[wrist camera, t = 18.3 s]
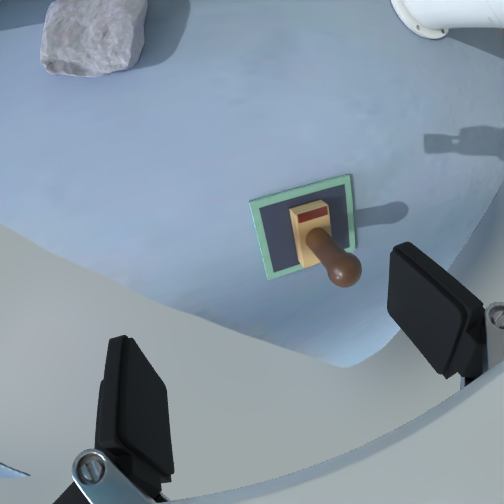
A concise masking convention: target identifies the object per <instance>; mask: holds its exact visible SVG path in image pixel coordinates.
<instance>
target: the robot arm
mask: <svg viewBox="0 0 504 504" xmlns="http://www.w3.org/2000/svg"><path fill="white" fill-rule="evenodd" d="M391 2H392V5H393V7H394V9H395V11H396V13H397V14H398V16H399V17H400V19H401V20H402V21H403V22H404V24H405V25H406V26H407V27H408V28H409V29H410V30H412V31H413V32H414V33H416V34H417V35H419V36H421V37H424V38H428V39H437V38H441V37H443V36H445V35H446V34H447V32H448V31H449V29H450V28H504V0H391ZM387 310H388V313H389V314H390V316H391V317H392V318H393V319H394V321H395V322H396V323H397V324H398V325H399V327H400V328H401V329H402V330H403V331H404V332H405V334H406V335H407V336H408V337H409V338H410V340H411V341H412V342H413V343H414V344H415V346H416V347H417V348H418V349H419V351H420V352H421V353H422V354H423V356H424V357H425V358H426V359H427V361H428V362H429V363H430V364H431V366H432V367H433V368H434V369H435V371H436V372H437V373H438V374H443V376H444V377H445V378H446V379H448V378H449V377H451V376H452V375H454V374H455V373H457V372H458V373H459V374H460V375H461V385H460V391H458V392H457V393H455V394H454V395H452V396H451V397H449V398H448V399H446V400H445V401H443V402H441V403H440V404H438V405H437V406H435V407H434V408H432V409H430V410H429V411H427V412H425V413H424V414H422V415H420V416H418V417H417V418H415V419H413V420H411V421H410V422H408V423H406V424H404V425H402V426H401V427H399V428H397V429H395V430H393V431H391V432H390V433H387V434H385V435H383V436H381V437H379V438H377V439H375V440H373V441H371V442H369V443H367V444H365V445H363V446H360V447H359V448H356V449H354V450H351V451H349V452H347V453H344V454H342V455H340V456H338V457H335V458H332V459H330V460H327V461H325V462H322V463H320V464H317V465H314V466H311V467H309V468H306V469H303V470H300V471H297V472H294V473H291V474H288V475H285V476H282V477H279V478H275V479H272V480H268V481H265V482H261V483H257V484H253V485H250V486H246V487H241V488H237V489H233V490H228V491H224V492H219V493H214V494H209V495H204V496H199V497H193V498H187V499H180V500H174V501H171V500H170V499H169V498H167V497H166V496H165V495H164V494H163V493H162V492H161V491H162V489H161V483H167V482H171V474H173V473H174V462H173V455H172V445H171V436H170V424H169V413H168V401H167V400H168V399H167V389H166V386H165V384H164V383H163V381H162V380H161V378H160V377H159V376H158V374H157V373H156V372H155V370H154V368H153V367H152V366H151V364H150V363H149V361H148V360H147V358H146V357H145V355H144V354H143V352H142V351H141V350H140V348H139V347H138V345H137V344H136V342H135V340H134V339H133V338H128V337H127V336H126V335H122V336H119V337H115V338H111V339H110V340H109V344H108V351H107V357H106V364H105V371H104V379H103V380H102V381H101V384H100V390H99V399H98V409H97V419H96V432H95V449H87V450H84V451H83V452H81V453H80V454H79V455H78V456H77V457H76V458H75V460H74V462H73V465H72V476H73V479H74V482H73V483H72V484H71V485H70V486H69V487H68V488H67V489H66V490H65V491H64V493H62V495H61V496H60V497H59V498H58V499H57V500H56V501H55V502H54V503H53V504H504V303H502V302H495V303H492V304H490V305H489V306H488V307H487V308H486V309H484V308H483V303H482V302H481V301H480V300H479V299H478V298H477V297H476V296H475V295H473V294H472V293H471V292H470V291H469V290H468V289H466V288H465V287H464V286H463V285H462V284H461V283H459V282H458V281H457V280H456V279H455V278H454V277H453V276H451V275H450V274H449V273H448V272H447V271H445V270H444V269H443V268H442V267H441V266H439V265H438V264H437V263H436V262H434V261H433V260H432V259H431V258H429V257H428V256H427V255H426V254H424V253H423V252H422V251H421V250H419V249H418V248H417V247H416V246H414V245H413V244H412V243H410V242H404V243H402V244H399V245H396V246H395V247H394V248H393V251H392V252H391V253H390V268H389V286H388V300H387Z"/></svg>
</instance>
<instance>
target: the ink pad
mask: <svg viewBox="0 0 504 504" xmlns="http://www.w3.org/2000/svg"><path fill="white" fill-rule="evenodd" d="M317 199H321V200H322V201H323V202H325V203H326V204H327V205H328V207H329V216H330V225H331V234H332V238H333V239H334V240H335V241H336V242H337V243H338V244H339V245H340V246H341V247H342V248H343V249H344V250H345V251H346V252H348V253H350V252H353V251H355V232H354V216H353V203H352V191H351V181H350V175H348V174H347V175H343V176H339V177H335V178H331V179H327V180H324V181H320V182H316V183H312V184H309V185H305V186H301V187H298V188H294V189H290V190H287V191H283V192H280V193H276V194H273V195H269V196H266V197H262V198H259V199H256V200H252V201H249V206H250V210H251V214H252V218H253V222H254V226H255V230H256V234H257V238H258V243H259V247H260V251H261V255H262V259H263V263H264V267H265V272H266V276H267V279H268V280H271V279H274V278H277V277H280V276H283V275H286V274H289V273H292V272H295V271H298V270H301V269H304V268H303V266H302V265H301V264H300V262H299V261H298V260H297V254H296V248H295V242H294V236H293V231H292V225H291V219H290V214H289V209H288V208H290V207H293V206H297V205H300V204H304V203H307V202H311V201H314V200H317Z"/></svg>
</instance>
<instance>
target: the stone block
mask: <svg viewBox="0 0 504 504" xmlns="http://www.w3.org/2000/svg"><path fill="white" fill-rule="evenodd" d="M147 3H148V1H147V0H55V1H54V2H52V3H51V4H50V6H49V8H48V10H47V12H46V18H45V25H44V31H43V37H42V41H41V53H40V60H41V64H43V65H44V66H45V70H46V71H47V72H49V73H50V74H53V75H60V74H64V75H70V76H79V77H99V76H102V75H109V74H111V73H113V72H116V71H120V70H128V69H130V68H131V67H133V66H134V65H135V64H136V63H137V62H138V59H139V57H140V53H141V51H142V48H143V46H144V43H145V38H144V22H145V18H146V13H147V8H148V4H147Z"/></svg>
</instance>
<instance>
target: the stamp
mask: <svg viewBox="0 0 504 504" xmlns="http://www.w3.org/2000/svg"><path fill="white" fill-rule="evenodd" d="M288 209H289V214H290V219H291V225H292V231H293V236H294V242H295V248H296V254H297V260H298V261H299V262H300V264H301V265H302V266H303V268H307V267H310V266H313V265H316V264H318V263H322V264H323V266H324V267H325V268H326V269H327V272H328V276H329V278H330V280H331V281H332V282H333V283H334V284H335V285H337V286H339V287H350V286H352V285H354V284H355V283H356V282H357V281H358V280H359V278H360V276H361V273H362V266H361V263H360V261H359V259H358V258H357V257H356V256H355V255H353V254H351V253H348V252H346V251H345V250H344V249H343V248H342V247H341V246H340V245H339V244H338V243H337V242H336V241H335V240H334V239H333V238H332V234H331V225H330V216H329V207H328V205H327V204H326V203H325V202H323V201H322V200H321V199H317V200H314V201H311V202H307V203H304V204H300V205H297V206H293V207H290V208H288Z"/></svg>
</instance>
